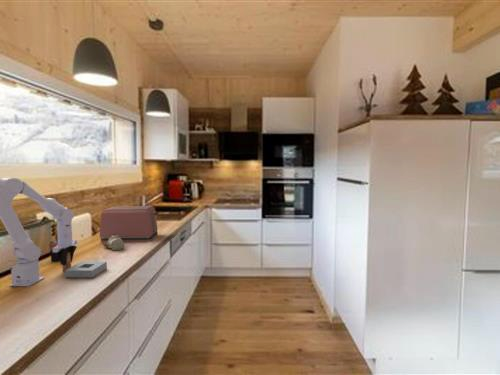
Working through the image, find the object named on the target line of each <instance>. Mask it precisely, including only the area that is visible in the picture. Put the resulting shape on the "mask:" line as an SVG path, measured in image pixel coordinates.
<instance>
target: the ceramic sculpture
mask: <svg viewBox="0 0 500 375" xmlns="http://www.w3.org/2000/svg"><path fill="white" fill-rule="evenodd" d="M124 244H125V242H123V241H122V240H121V239H120V238H119V236H118V235H116V234H114V235H113V236H111V237H110V238H109V239H108V242H107V243H103V247H105V248H110V249H111V250H113V251H120V250H122V249H123V247H124V246H125V245H124Z"/></svg>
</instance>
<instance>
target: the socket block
mask: <svg viewBox="0 0 500 375" xmlns="http://www.w3.org/2000/svg"><path fill="white" fill-rule="evenodd" d="M107 269H108V266H107V261H80V262H78V263H76V264H74V265H71V267H70V268H68V269H67V270H65V272H64V278H65V279H85V280H86V279H88V280H89V279H94V278H96V277H97V276H100V274H102V273H103V272H105V271H106V270H107Z"/></svg>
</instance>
